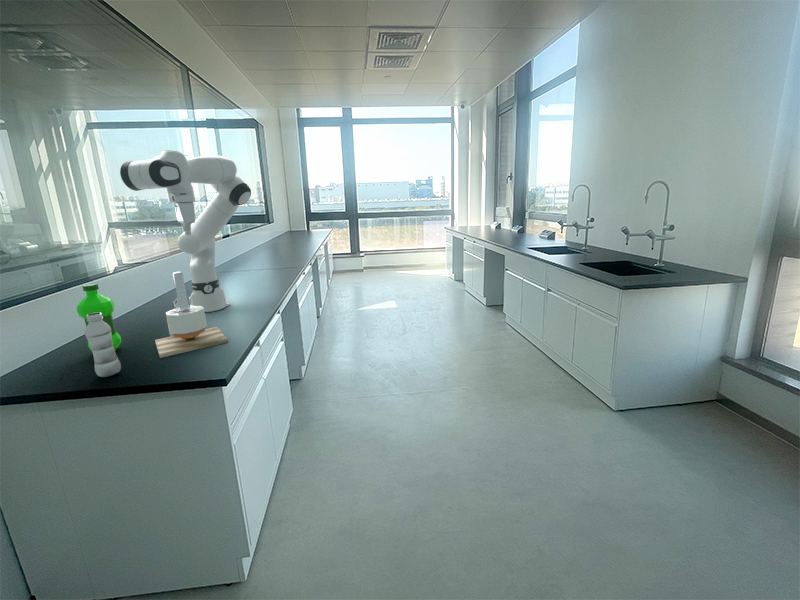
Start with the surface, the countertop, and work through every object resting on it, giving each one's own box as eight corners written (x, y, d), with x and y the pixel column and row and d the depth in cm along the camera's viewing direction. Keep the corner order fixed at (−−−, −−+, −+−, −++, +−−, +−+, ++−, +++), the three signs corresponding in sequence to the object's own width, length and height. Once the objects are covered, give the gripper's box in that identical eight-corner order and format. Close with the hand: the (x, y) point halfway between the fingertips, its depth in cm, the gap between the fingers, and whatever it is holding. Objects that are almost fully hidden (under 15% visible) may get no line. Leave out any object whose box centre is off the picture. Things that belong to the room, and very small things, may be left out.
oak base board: (155, 343, 149) (154, 339, 148) (217, 330, 161) (217, 326, 160) (159, 358, 134) (159, 353, 134) (227, 342, 146) (226, 338, 146)
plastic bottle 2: (127, 370, 126) (112, 310, 120) (110, 379, 119) (94, 317, 114) (109, 370, 126) (93, 311, 121) (91, 379, 120) (74, 317, 115)
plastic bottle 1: (82, 357, 139) (63, 288, 132) (107, 346, 149) (91, 281, 142) (107, 357, 137) (88, 288, 131) (131, 346, 147) (115, 281, 141)
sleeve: (168, 328, 148) (164, 310, 146) (203, 321, 154) (199, 304, 152) (172, 336, 138) (168, 317, 136) (208, 328, 145) (205, 310, 143)
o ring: (172, 332, 148) (171, 328, 147) (201, 326, 153) (200, 322, 153) (175, 339, 140) (174, 335, 139) (206, 332, 145) (205, 328, 145)
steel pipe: (179, 338, 148) (166, 272, 141) (198, 334, 152) (186, 270, 145) (182, 343, 143) (168, 275, 136) (201, 339, 146) (188, 272, 140)
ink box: (170, 338, 153) (162, 303, 149) (174, 332, 161) (167, 298, 157) (180, 337, 154) (173, 301, 150) (184, 331, 162) (177, 297, 158)
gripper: (168, 198, 152) (175, 234, 156) (175, 197, 136) (182, 237, 139) (186, 197, 156) (193, 233, 159) (195, 196, 139) (202, 235, 143)
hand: (188, 235), depth 149 cm, fingers closed
